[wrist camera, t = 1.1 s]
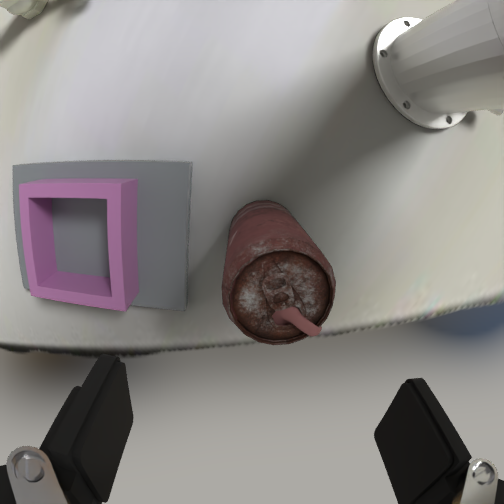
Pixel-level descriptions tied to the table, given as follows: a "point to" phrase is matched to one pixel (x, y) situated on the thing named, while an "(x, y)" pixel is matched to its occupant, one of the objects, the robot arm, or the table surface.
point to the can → (275, 276)
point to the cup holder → (104, 231)
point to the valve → (24, 7)
